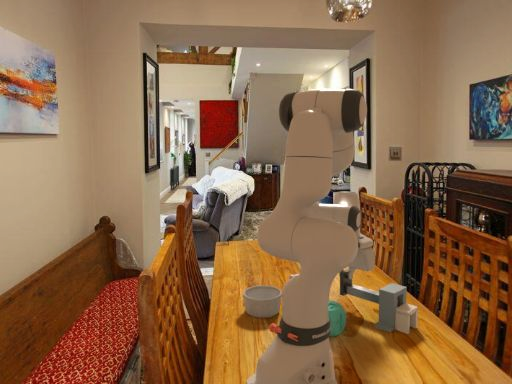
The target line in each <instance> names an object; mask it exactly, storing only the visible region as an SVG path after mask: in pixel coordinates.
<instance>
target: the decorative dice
mask: <svg viewBox="0 0 512 384" xmlns="http://www.w3.org/2000/svg"><path fill="white" fill-rule="evenodd" d="M328 317H329V319H330V325H331V329H330V336H329V338H330V337H337V336H339V335H341V334H342V332H343V331H344V329H345V327H346V324H347V313H346V310H345V308H344V306H342V304H340V303H339V302H336V301H334V300H329V306H328Z"/></svg>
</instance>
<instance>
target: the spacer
mask: <svg viewBox="0 0 512 384" xmlns="http://www.w3.org/2000/svg"><path fill="white" fill-rule="evenodd" d="M418 310H419V309H418V306H417V305H413V304H409V303H407V302H406V303H404V304H403V305H401V306H399V307H398V308H396V309H395V330H396V331H398V332H401V333H404V334H406V335H408V334H410V328H413V329H417V328H418V313H419V312H418ZM395 330H394V331H395Z"/></svg>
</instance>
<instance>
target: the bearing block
mask: <svg viewBox="0 0 512 384" xmlns="http://www.w3.org/2000/svg"><path fill="white" fill-rule="evenodd" d="M407 289H408V288H407V286H404V285H400V284H397V283H392V282H390V283H389V284H387V285H385V286H382V287H381V288H379V289H378V292H379V304H378V321H376V323H374V328H376V329H379V330H382V331H384V332H387V333H391V332H393V331H395V309H396V308H398V307H397V298H399V306H401V305H403V304H404V303H407Z"/></svg>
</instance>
